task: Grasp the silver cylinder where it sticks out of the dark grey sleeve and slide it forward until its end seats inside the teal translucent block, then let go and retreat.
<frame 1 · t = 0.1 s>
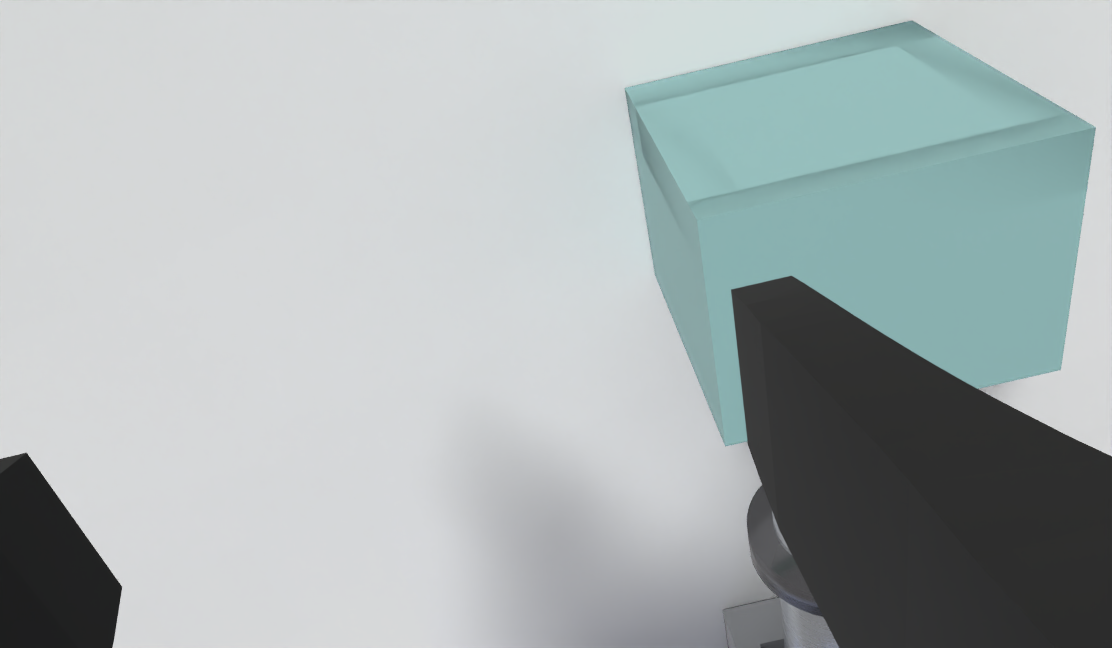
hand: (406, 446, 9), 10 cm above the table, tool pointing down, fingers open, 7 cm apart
teal translucent block: (775, 156, 19), on the table
sleeve: (808, 647, 28), on the table
silver cylinder: (843, 627, 23), point 3 cm above the table, slide at 0.0 cm
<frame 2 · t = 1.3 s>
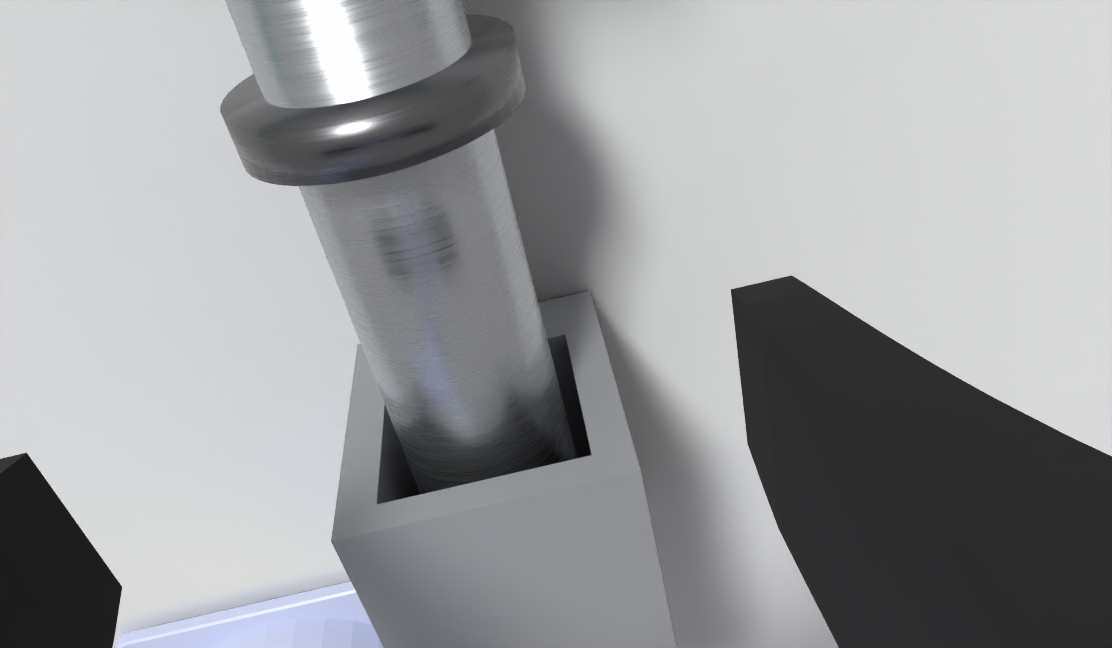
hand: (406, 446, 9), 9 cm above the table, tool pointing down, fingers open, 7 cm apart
sleeve: (503, 416, 20), on the table
silver cylinder: (442, 295, 15), point 3 cm above the table, slide at 0.0 cm
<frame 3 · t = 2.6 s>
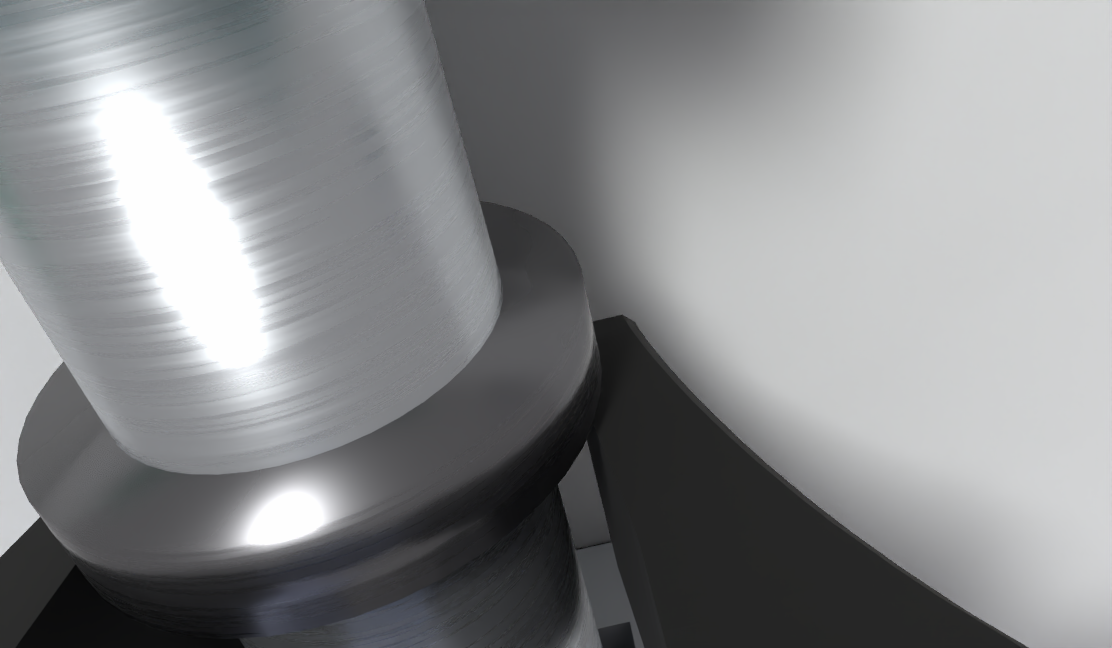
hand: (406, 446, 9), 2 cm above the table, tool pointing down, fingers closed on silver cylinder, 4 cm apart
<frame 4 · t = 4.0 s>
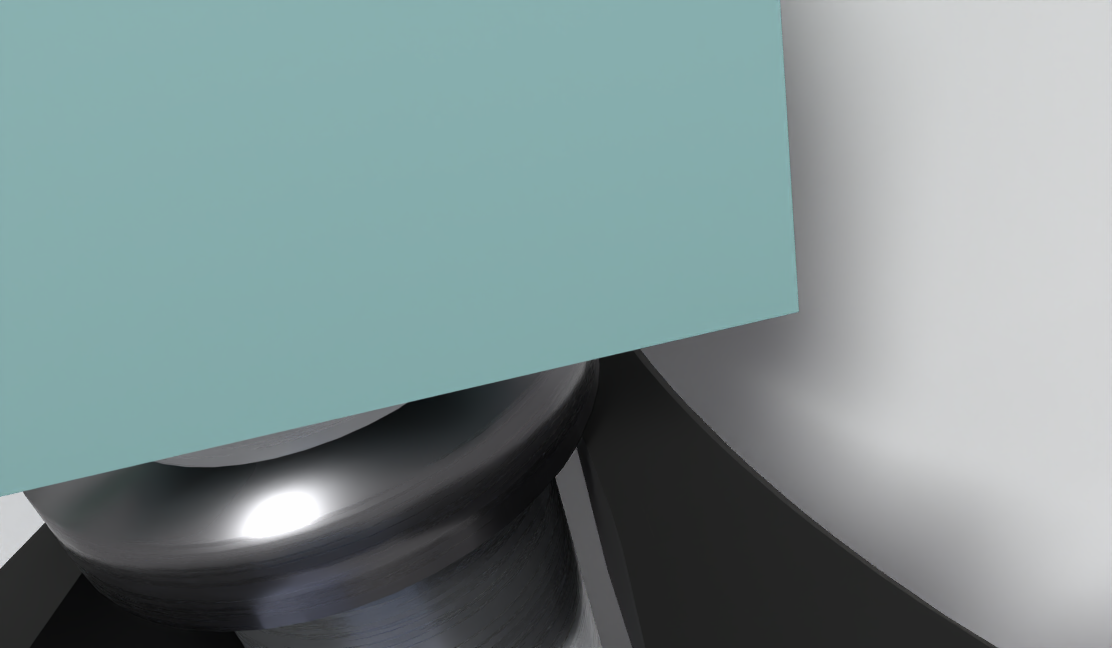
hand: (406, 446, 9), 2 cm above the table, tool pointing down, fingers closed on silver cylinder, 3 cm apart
silver cylinder: (444, 646, 9), point 3 cm above the table, slide at 4.5 cm, touching gripper
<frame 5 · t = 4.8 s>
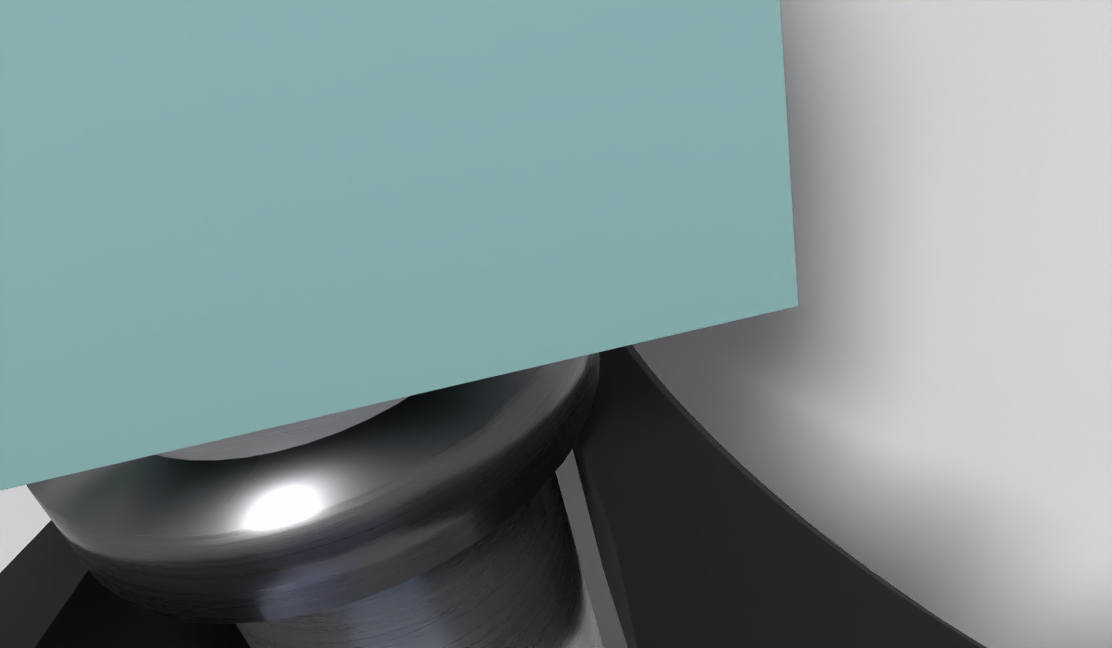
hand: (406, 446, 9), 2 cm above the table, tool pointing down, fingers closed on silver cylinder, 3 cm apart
silver cylinder: (444, 641, 9), point 3 cm above the table, slide at 4.6 cm, touching gripper
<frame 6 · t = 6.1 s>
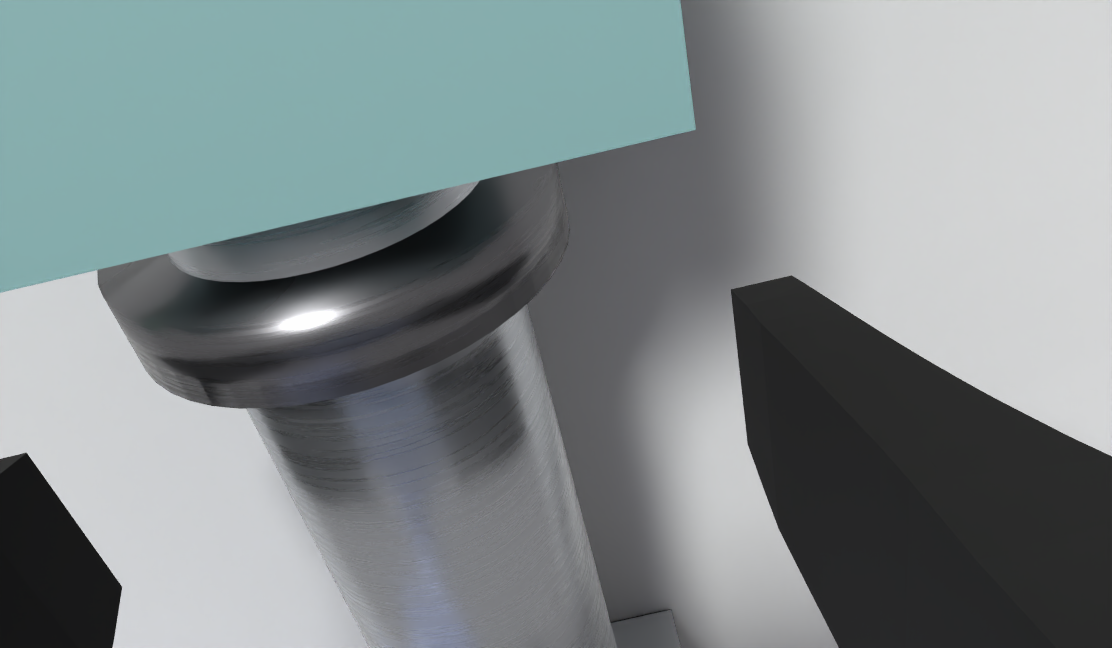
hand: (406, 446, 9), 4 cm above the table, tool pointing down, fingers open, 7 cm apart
silver cylinder: (442, 491, 10), point 3 cm above the table, slide at 4.6 cm
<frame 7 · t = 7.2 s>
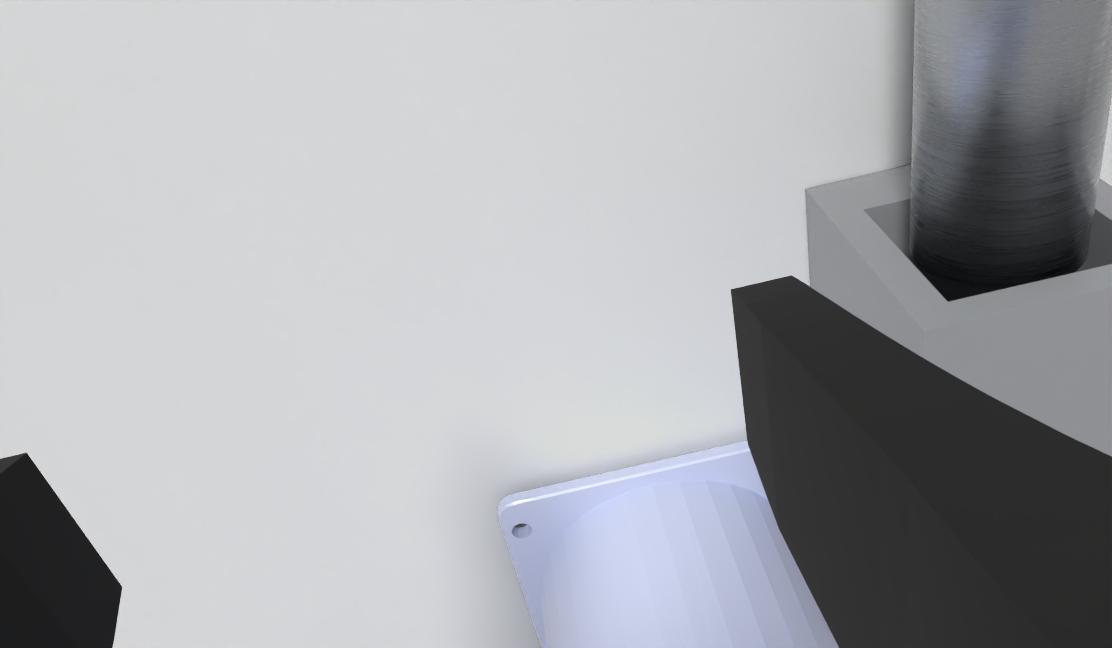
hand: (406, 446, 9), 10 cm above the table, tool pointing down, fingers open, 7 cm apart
sleeve: (916, 270, 21), on the table
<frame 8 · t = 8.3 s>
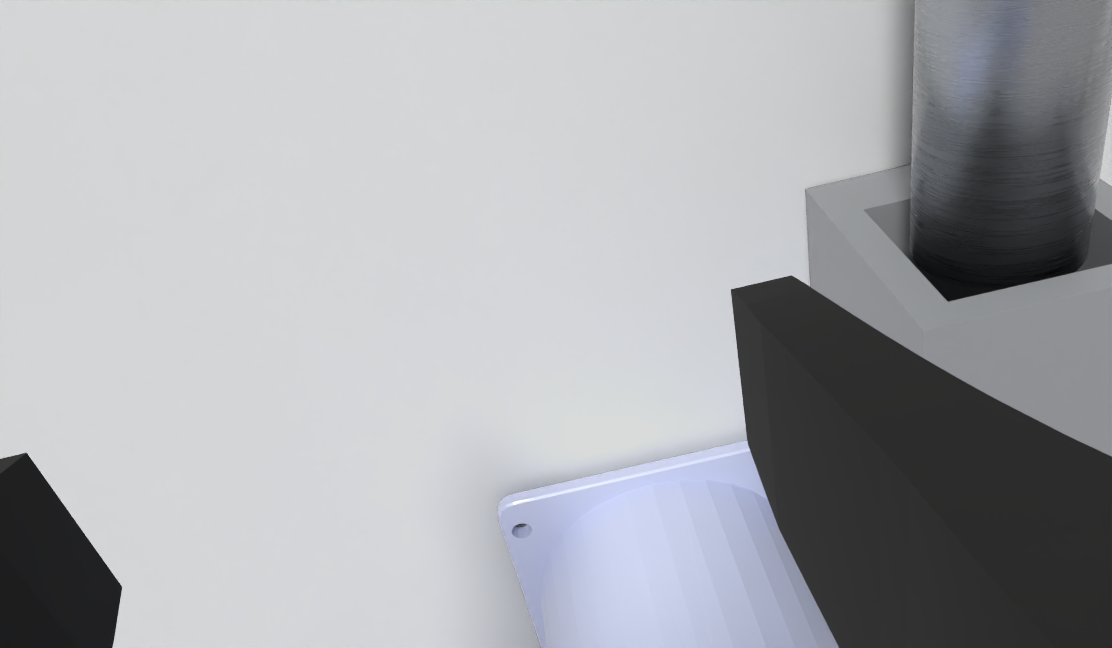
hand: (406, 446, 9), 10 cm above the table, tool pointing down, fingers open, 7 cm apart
sleeve: (916, 270, 21), on the table
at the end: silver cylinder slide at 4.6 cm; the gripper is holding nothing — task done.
